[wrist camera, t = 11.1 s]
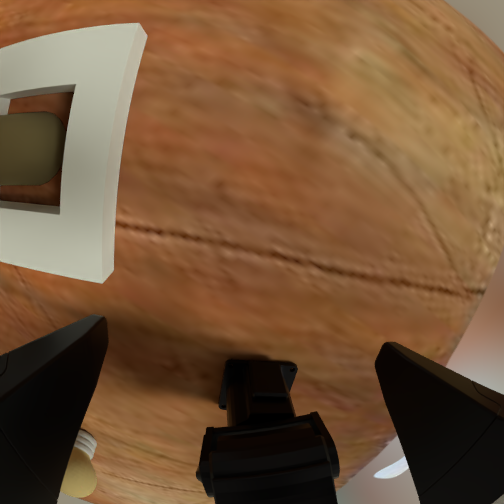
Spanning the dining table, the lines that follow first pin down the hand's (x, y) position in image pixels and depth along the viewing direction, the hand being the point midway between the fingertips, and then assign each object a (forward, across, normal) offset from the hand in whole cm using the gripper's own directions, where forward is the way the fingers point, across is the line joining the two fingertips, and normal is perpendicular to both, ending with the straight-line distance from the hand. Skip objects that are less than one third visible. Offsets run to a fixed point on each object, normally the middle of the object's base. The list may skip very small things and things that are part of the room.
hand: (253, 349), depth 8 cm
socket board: (+13, +17, -5) cm, 22 cm away
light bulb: (+13, +16, +29) cm, 36 cm away
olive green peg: (+13, +17, -5) cm, 22 cm away
